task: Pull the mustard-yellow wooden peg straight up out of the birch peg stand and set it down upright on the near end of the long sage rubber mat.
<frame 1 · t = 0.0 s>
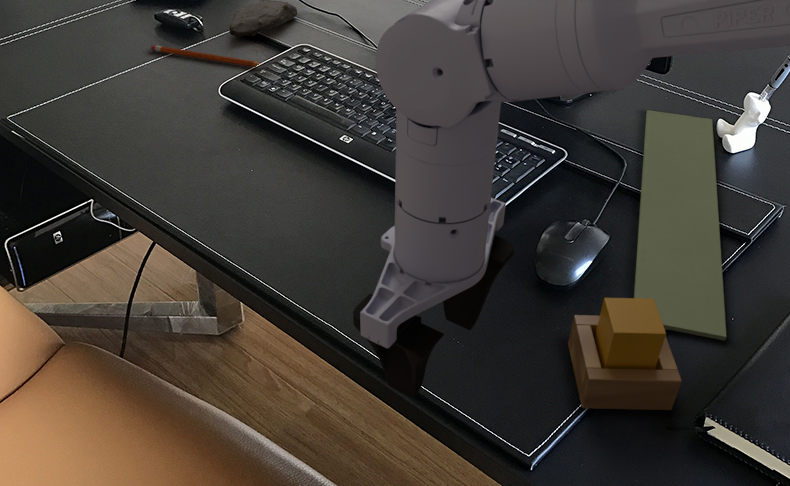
hand: (433, 354, 55), 9 cm above the table, tool pointing down, fingers open, 7 cm apart
mat: (678, 205, 85), on the table
peg: (625, 346, 64), in the stand
stand: (617, 375, 66), on the table
stone: (264, 29, 120), on the table
pencil: (208, 60, 111), on the table
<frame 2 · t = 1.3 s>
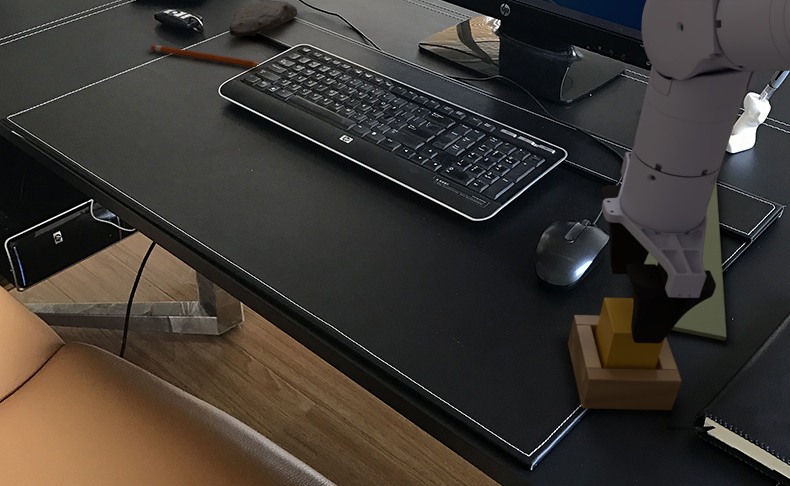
hand: (634, 304, 61), 8 cm above the table, tool pointing down, fingers open, 7 cm apart
nothing on the table moved.
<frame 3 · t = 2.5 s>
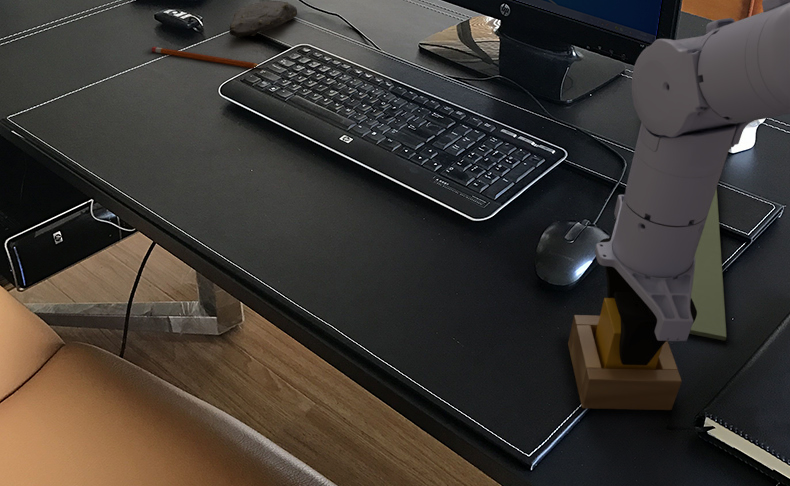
hand: (627, 340, 63), 4 cm above the table, tool pointing down, fingers closed on peg, 4 cm apart
peg: (625, 346, 64), in the stand, touching gripper
everything else where it was.
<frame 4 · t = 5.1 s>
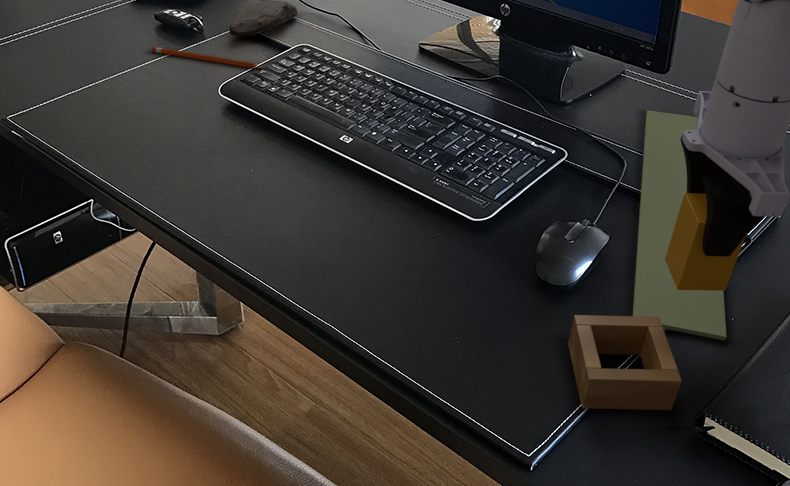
hand: (707, 235, 64), 10 cm above the table, tool pointing down, fingers closed on peg, 4 cm apart
peg: (705, 242, 64), point 10 cm above the table, touching gripper
everything else where it was.
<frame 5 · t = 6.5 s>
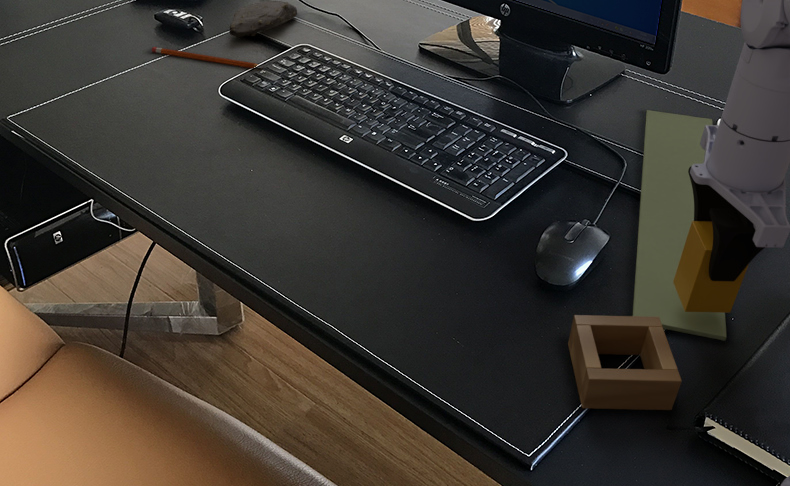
hand: (713, 260, 68), 6 cm above the table, tool pointing down, fingers closed on peg, 4 cm apart
peg: (711, 267, 68), point 6 cm above the table, touching gripper
everything else where it was.
when the fingers open (5 cm above the table, at t = 7.5 s): peg stays where it is, resting on mat.
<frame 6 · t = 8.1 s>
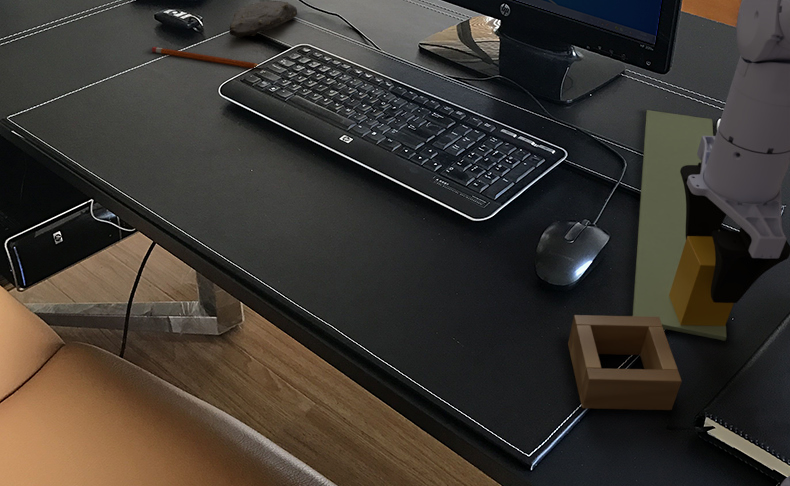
hand: (710, 270, 68), 5 cm above the table, tool pointing down, fingers open, 7 cm apart
peg: (706, 281, 69), on the mat
everything else where it was.
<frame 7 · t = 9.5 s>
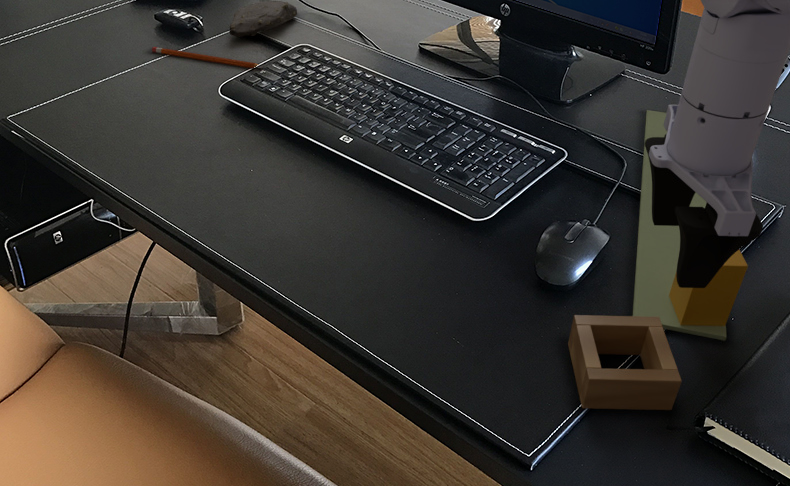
hand: (677, 252, 62), 10 cm above the table, tool pointing down, fingers open, 7 cm apart
nothing on the table moved.
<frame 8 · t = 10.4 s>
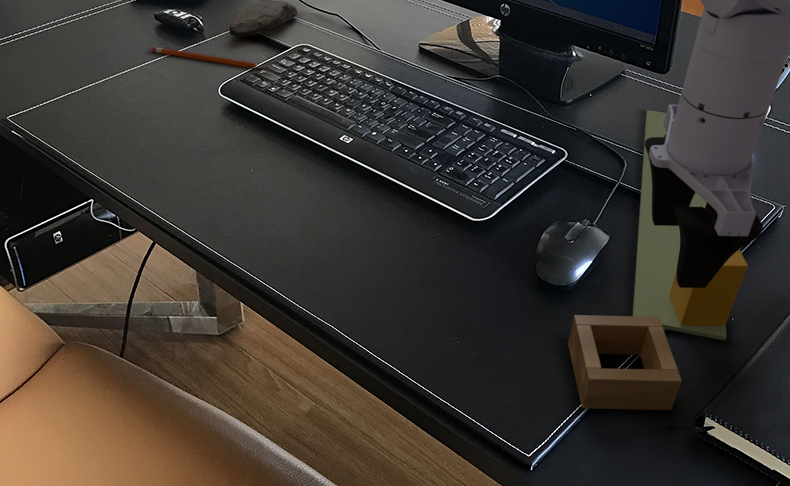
hand: (677, 252, 62), 10 cm above the table, tool pointing down, fingers open, 7 cm apart
nothing on the table moved.
at the end: peg 0.1 cm from the target spot on the mat, point 4.0 cm above the mat's base; peg tilted 0°; the gripper is holding nothing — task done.
